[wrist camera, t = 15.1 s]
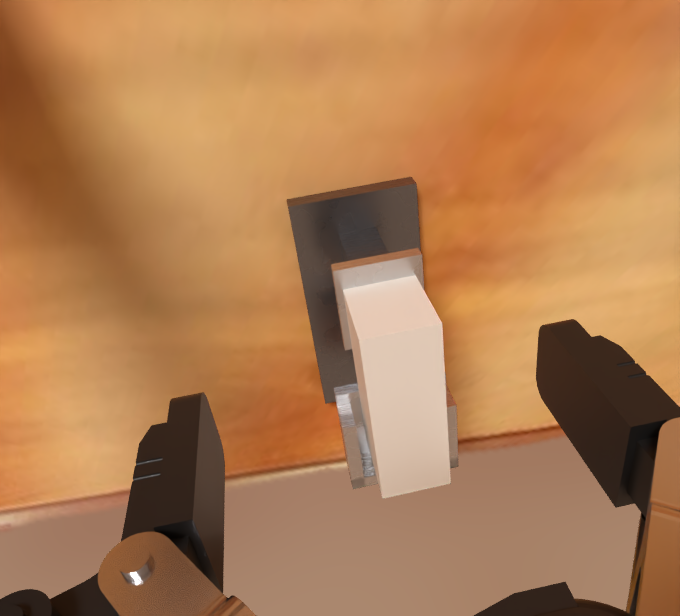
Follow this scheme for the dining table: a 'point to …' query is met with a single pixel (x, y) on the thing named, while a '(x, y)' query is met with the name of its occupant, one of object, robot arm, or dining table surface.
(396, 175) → the dining table surface
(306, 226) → the stand
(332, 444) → the dining table surface
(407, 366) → the white rectangular block
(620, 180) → the dining table surface
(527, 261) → the dining table surface
